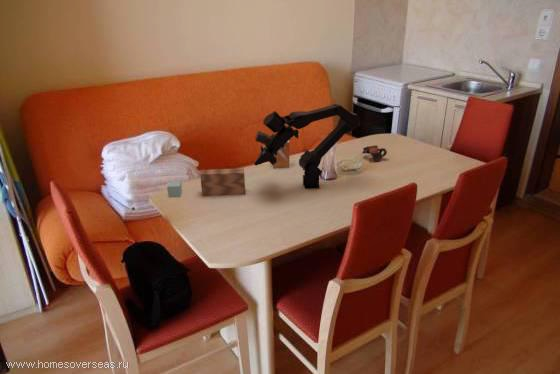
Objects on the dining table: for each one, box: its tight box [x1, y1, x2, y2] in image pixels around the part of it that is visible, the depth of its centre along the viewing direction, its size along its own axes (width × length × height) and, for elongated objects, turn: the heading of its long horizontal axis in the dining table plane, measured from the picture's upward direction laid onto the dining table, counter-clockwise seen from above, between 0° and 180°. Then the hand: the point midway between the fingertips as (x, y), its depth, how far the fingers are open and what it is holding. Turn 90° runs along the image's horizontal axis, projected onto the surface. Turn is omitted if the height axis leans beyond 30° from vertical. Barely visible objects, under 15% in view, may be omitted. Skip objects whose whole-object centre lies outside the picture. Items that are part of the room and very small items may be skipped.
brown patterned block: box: [199, 167, 246, 197], centre depth 183 cm, size 18×5×10 cm, turn 94°
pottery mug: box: [361, 145, 388, 163], centre depth 218 cm, size 12×10×8 cm
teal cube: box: [166, 181, 183, 198], centre depth 183 cm, size 5×5×5 cm
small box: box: [271, 140, 290, 169], centre depth 209 cm, size 8×6×13 cm
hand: (254, 164), depth 180 cm, fingers closed
